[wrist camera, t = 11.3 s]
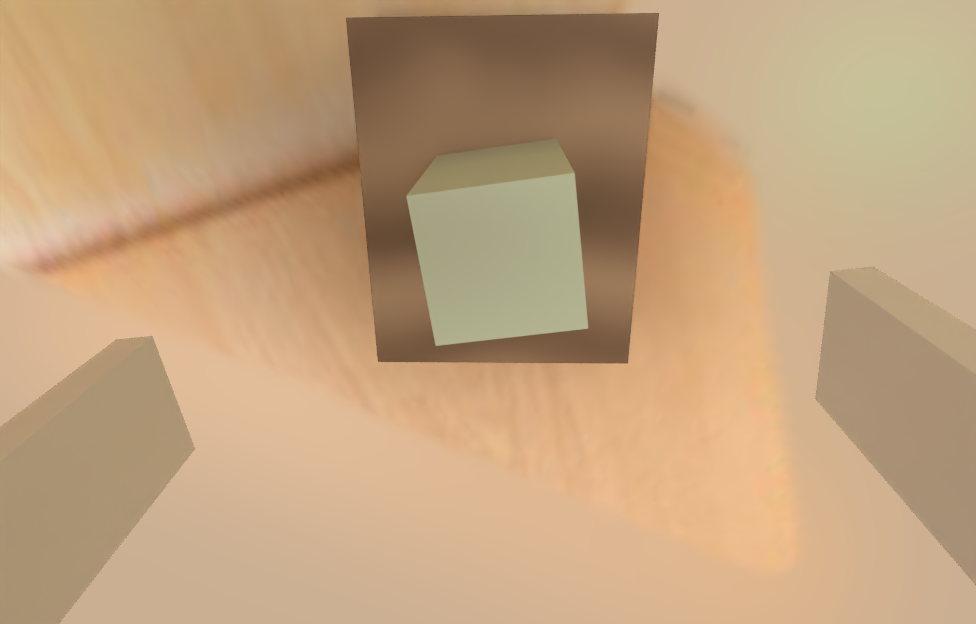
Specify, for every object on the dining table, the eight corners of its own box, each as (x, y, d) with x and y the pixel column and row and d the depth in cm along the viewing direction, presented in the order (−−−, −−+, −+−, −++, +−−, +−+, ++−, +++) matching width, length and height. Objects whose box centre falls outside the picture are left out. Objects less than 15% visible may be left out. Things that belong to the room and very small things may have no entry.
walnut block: (373, 23, 28) (346, 17, 23) (634, 20, 28) (658, 13, 23) (396, 320, 34) (377, 361, 29) (611, 321, 33) (627, 363, 29)
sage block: (437, 155, 25) (406, 196, 18) (556, 138, 25) (574, 172, 18) (456, 267, 27) (435, 346, 20) (567, 254, 27) (588, 328, 19)
